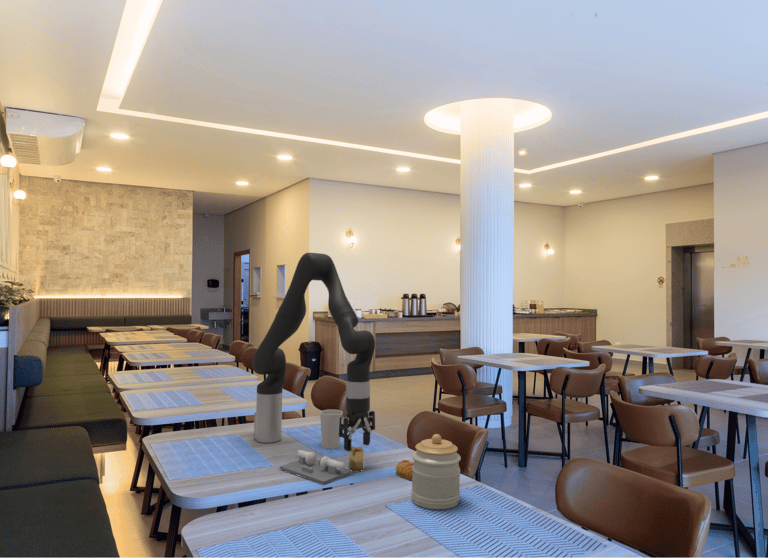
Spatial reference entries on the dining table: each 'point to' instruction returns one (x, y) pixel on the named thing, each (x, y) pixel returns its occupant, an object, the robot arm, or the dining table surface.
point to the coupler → (356, 459)
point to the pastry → (405, 469)
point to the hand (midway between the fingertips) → (357, 447)
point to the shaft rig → (317, 468)
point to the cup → (330, 428)
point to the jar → (436, 474)
